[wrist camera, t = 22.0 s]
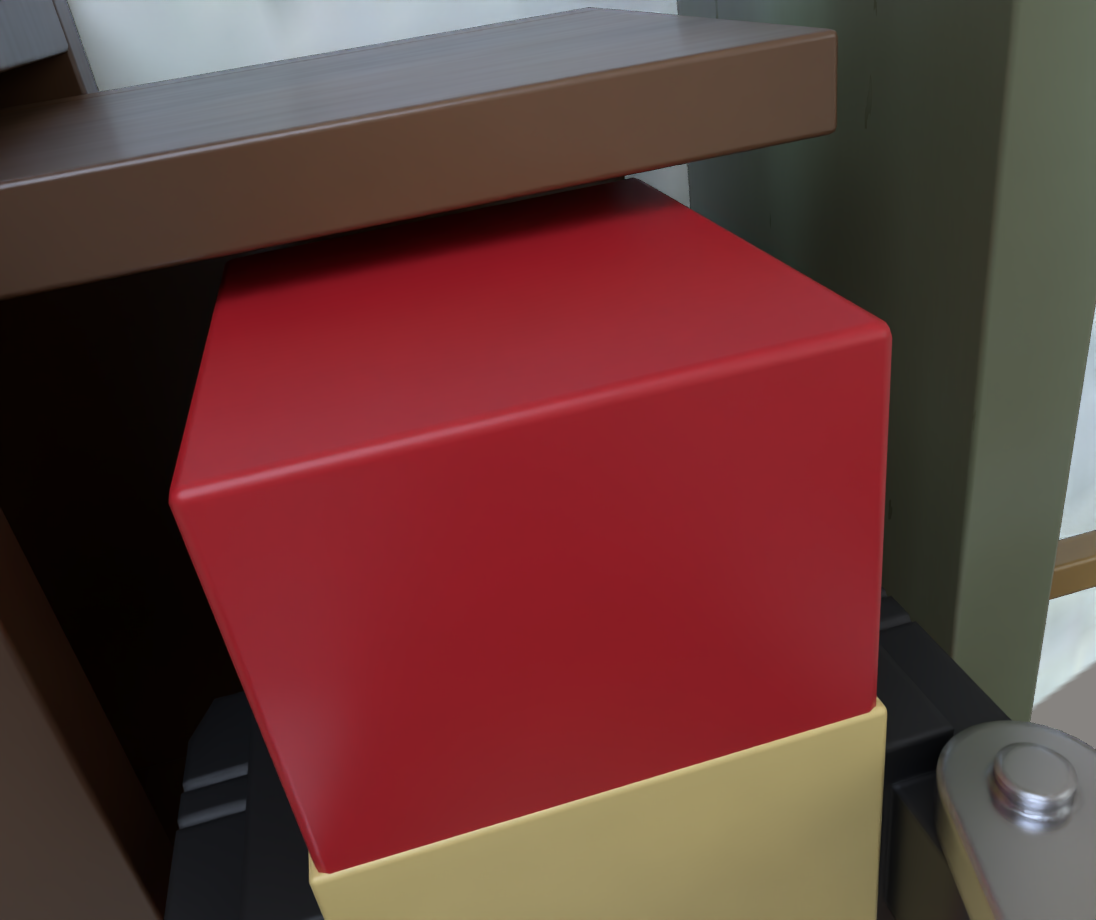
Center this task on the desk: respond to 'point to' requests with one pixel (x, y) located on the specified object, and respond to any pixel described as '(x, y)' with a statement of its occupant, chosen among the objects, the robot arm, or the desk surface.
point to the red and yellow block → (553, 562)
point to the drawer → (547, 168)
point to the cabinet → (61, 655)
